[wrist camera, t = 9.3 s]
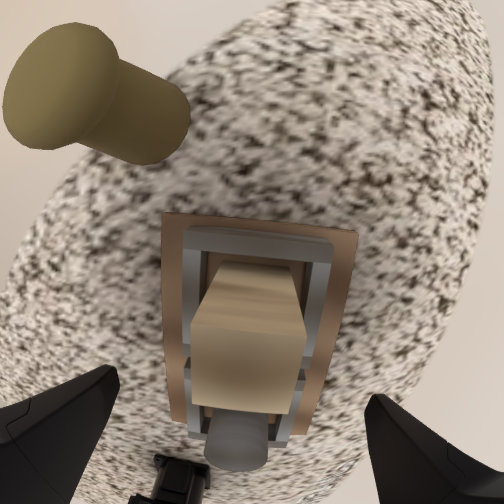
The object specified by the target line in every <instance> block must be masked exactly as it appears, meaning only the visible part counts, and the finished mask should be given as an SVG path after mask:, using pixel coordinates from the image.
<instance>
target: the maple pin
mask: <svg viewBox="0 0 504 504" xmlns="http://www.w3.org/2000/svg"><path fill="white" fill-rule="evenodd" d="M306 340H307V334H306V329H305V325H304V321H303V317H302V313H301V309H300V306H299V302H298V298H297V294H296V290H295V286H294V282H293V278H292V275H291V271H290V267H286V266H276V265H267V264H257V263H248V262H239V261H230V260H223V261H222V263H221V265H220V267H219V269H218V271H217V273H216V275H215V277H214V279H213V281H212V282H211V284H210V286H209V288H208V290H207V292H206V294H205V296H204V298H203V300H202V302H201V304H200V306H199V308H198V310H197V312H196V314H195V316H194V318H193V320H192V322H191V324H190V348H191V391H192V404H197V405H203V406H209V407H216V408H223V409H230V410H239V411H248V412H260V413H273V414H288V412H289V408H290V405H291V401H292V397H293V393H294V390H295V386H296V382H297V378H298V374H299V370H300V366H301V361H302V357H303V353H304V349H305V344H306Z"/></svg>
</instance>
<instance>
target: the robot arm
mask: <svg viewBox="0 0 504 504" xmlns="http://www.w3.org/2000/svg"><path fill="white" fill-rule="evenodd" d="M119 389H120V382H119V377H118V373H117V369H116V368H115V367H114V366H111V365H107V364H105V365H102V366H100V367H98V368H96V369H94V370H91V371H89V372H87V373H85V374H83V375H81V376H78V377H76V378H74V379H72V380H69V381H67V382H65V383H63V384H60V385H58V386H56V387H54V388H51V389H49V390H47V391H44V392H42V393H40V394H37V395H35V396H33V397H32V398H28V399H25V400H23V401H20V402H18V403H15V404H13V405H9V406H6V407H3V408H0V504H70V501H71V499H72V497H73V495H74V492H75V490H76V488H77V485H78V483H79V481H80V479H81V476H82V474H83V472H84V470H85V468H86V466H87V463H88V461H89V459H90V457H91V455H92V453H93V451H94V449H95V447H96V444H97V442H98V440H99V438H100V436H101V434H102V432H103V430H104V428H105V426H106V424H107V422H108V419H109V417H110V414H111V411H112V408H113V405H114V403H115V400H116V397H117V395H118V392H119ZM364 417H365V425H366V434H367V443H368V450H369V455H370V459H371V463H372V468H373V473H374V477H375V482H376V487H377V491H378V496H379V502H380V504H504V472H499V471H496V470H494V469H492V468H490V467H488V466H486V465H485V464H483V463H481V462H479V461H477V460H475V459H473V458H472V457H470V456H468V455H467V454H465V453H463V452H462V451H460V450H459V449H457V448H456V447H455V446H453V445H452V444H450V443H449V442H448V443H447V441H446V440H445V439H443V438H442V437H441V436H439V435H438V434H437V433H435V432H434V431H432V430H431V429H430V428H428V427H427V426H426V425H424V424H423V423H422V422H420V421H419V420H418V419H416V418H415V417H414V416H412V415H411V414H410V413H408V412H407V411H406V410H404V409H403V408H402V407H400V406H399V405H398V404H397V403H395V402H394V401H393V400H391V399H390V398H389V397H387V396H386V395H385V394H373V395H372V396H371V398H370V400H369V402H368V404H367V407H366V409H365V412H364ZM154 462H155V465H156V468H157V471H158V475H157V478H156V481H155V484H154V487H153V490H152V493H151V495H150V498H147V497H144V496H142V495H141V494H138V493H137V494H136V496H130V499H129V502H128V504H202V498H203V493H204V489H207V490H208V489H210V467H209V466H207V465H202V464H196V463H190V462H185V461H180V460H176V459H171V458H167V457H163V456H159V455H155V456H154Z"/></svg>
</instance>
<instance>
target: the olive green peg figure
mask: <svg viewBox="0 0 504 504" xmlns="http://www.w3.org/2000/svg"><path fill="white" fill-rule="evenodd" d="M2 108H3V118H4V122H5V124H6V127H7V129H8V131H9V132H10V134H11V135H12V136H13V138H15V139H16V140H17V141H18V142H20V143H21V144H22V145H25V146H27V147H29V148H33V149H42V150H54V149H57V148H60V147H63V146H66V145H69V144H72V143H76V142H77V143H80V144H82V145H85V146H87V147H90V148H93V149H95V150H98V151H101V152H103V153H106V154H108V155H111V156H113V157H116V158H118V159H121V160H124V161H126V162H129V163H132V164H137V165H148V164H155V163H157V162H159V161H161V160H163V159H165V158H167V157H169V156H170V155H171V154H172V153H173V152H174V151H175V150H176V149H177V148H178V147H179V146H180V144H181V143H182V141H183V139H184V138H185V136H186V134H187V131H188V127H189V124H190V105H189V103H188V101H187V98H186V96H185V94H184V93H183V92H182V91H181V90H180V89H179V88H178V87H177V86H176V85H174V84H172V83H170V82H168V81H166V80H164V79H162V78H160V77H158V76H156V75H154V74H152V73H150V72H148V71H146V70H143V69H141V68H139V67H137V66H135V65H132V64H130V63H128V62H126V61H123V60H121V59H119V56H118V53H117V50H116V48H115V46H114V44H113V42H112V41H111V40H110V39H109V38H108V37H107V36H106V35H105V34H104V33H103V32H102V31H101V30H99V29H98V28H97V27H94V26H90V25H86V24H81V23H77V22H74V23H68V24H63V25H59V26H55V27H52V28H51V29H49V30H47V31H46V32H44V33H42V34H41V35H39V36H38V37H37V38H36V39H35V40H34V41H33V42H32V43H31V44H30V45H29V46H28V47H27V48H26V49H25V51H24V52H23V53H22V55H21V56H20V57H19V59H18V60H17V62H16V64H15V66H14V68H13V69H12V71H11V73H10V76H9V79H8V81H7V84H6V88H5V91H4V99H3V106H2Z"/></svg>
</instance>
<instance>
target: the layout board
mask: <svg viewBox="0 0 504 504" xmlns="http://www.w3.org/2000/svg"><path fill="white" fill-rule="evenodd" d="M358 236H359V234H358V233H357V232H355V231H351V230H343V229H335V228H327V227H319V226H310V225H302V224H293V223H284V222H274V221H265V220H255V219H244V218H234V217H223V216H211V215H199V214H187V213H174V212H166V213H163V214H162V232H161V293H162V320H163V338H164V352H165V364H166V375H167V385H168V394H169V402H170V410H171V417H172V421H177V422H182V423H187V425H188V435H189V438H193V439H199V440H205V441H206V444H205V448H204V456H205V458H206V460H207V461H208V462H210V463H211V464H212V465H214V466H216V467H218V468H221V469H224V470H228V471H236V472H246V471H252V470H256V469H258V468H260V467H262V466H263V465H265V464H266V462H267V459H268V447H272V448H286V446H287V443H288V440H289V437H290V435H306V433H307V431H308V428H309V425H310V423H311V420H312V417H313V414H314V411H315V408H316V406H317V403H318V400H319V397H320V394H321V390H322V387H323V384H324V381H325V378H326V375H327V371H328V368H329V364H330V361H331V358H332V354H333V350H334V347H335V343H336V339H337V336H338V332H339V328H340V324H341V320H342V316H343V311H344V307H345V303H346V298H347V294H348V289H349V285H350V280H351V275H352V270H353V264H354V259H355V254H356V248H357V242H358ZM223 260H230V261H239V262H248V263H257V264H267V265H276V266H286V267H290V271H291V275H292V278H293V282H294V286H295V290H296V294H297V298H298V302H299V306H300V309H301V313H302V317H303V321H304V325H305V329H306V334H307V340H306V344H305V349H304V353H303V357H302V361H301V366H300V370H299V374H298V378H297V382H296V386H295V390H294V393H293V397H292V401H291V405H290V408H289V412H288V414H273V413H260V412H248V411H239V410H230V409H223V408H216V407H209V406H203V405H197V404H192V391H191V348H190V324H191V322H192V320H193V318H194V316H195V314H196V312H197V310H198V308H199V306H200V304H201V302H202V300H203V298H204V296H205V294H206V292H207V290H208V288H209V286H210V284H211V282H212V281H213V279H214V277H215V275H216V273H217V271H218V269H219V267H220V265H221V263H222V261H223Z"/></svg>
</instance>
